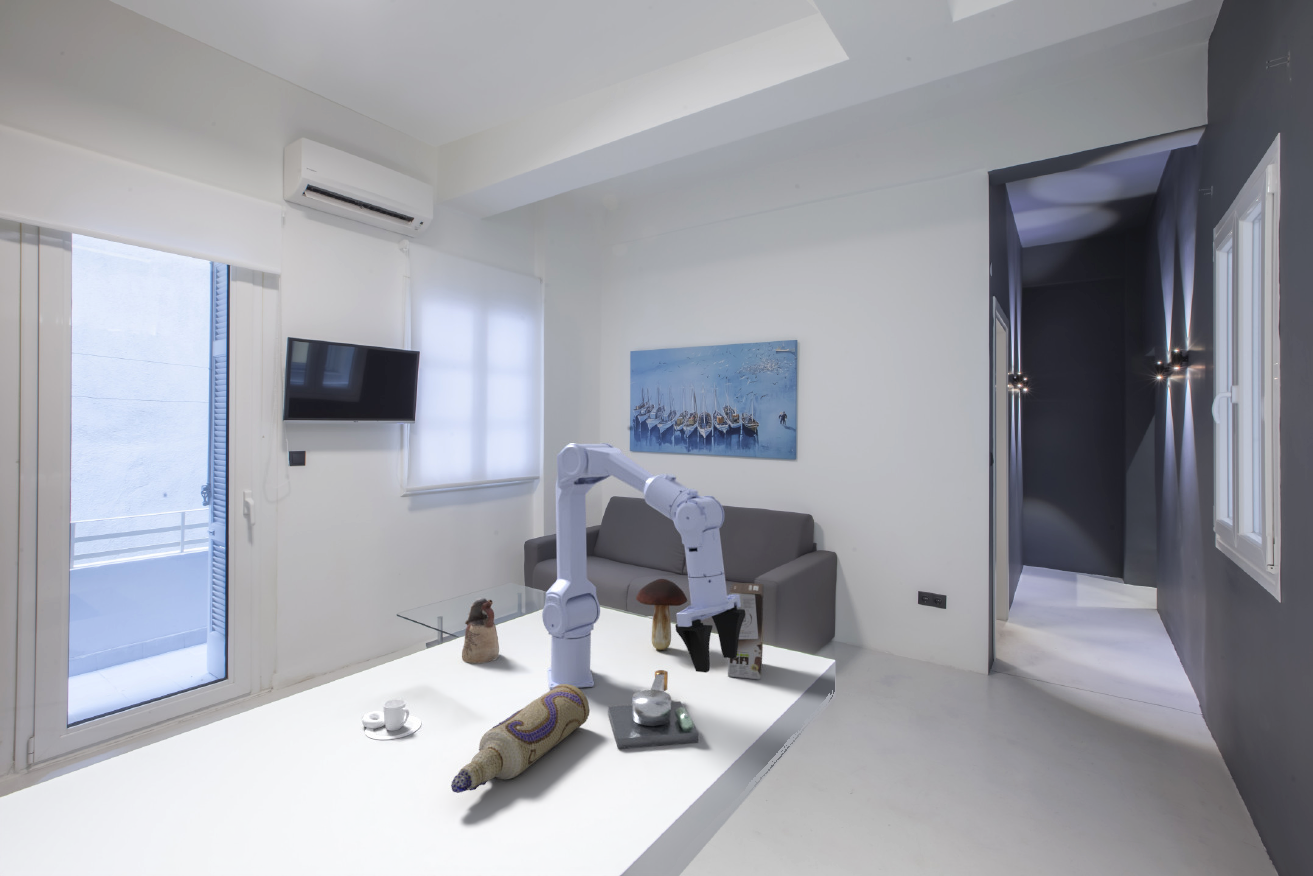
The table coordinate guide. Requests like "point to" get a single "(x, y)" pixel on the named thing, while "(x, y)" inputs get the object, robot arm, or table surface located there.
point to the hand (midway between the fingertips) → (716, 664)
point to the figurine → (480, 634)
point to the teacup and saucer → (390, 720)
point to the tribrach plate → (651, 728)
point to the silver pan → (653, 702)
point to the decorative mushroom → (661, 608)
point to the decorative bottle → (524, 737)
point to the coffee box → (749, 632)
